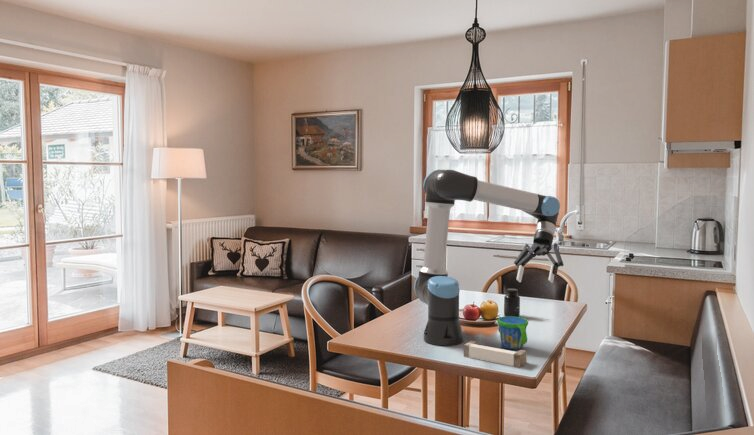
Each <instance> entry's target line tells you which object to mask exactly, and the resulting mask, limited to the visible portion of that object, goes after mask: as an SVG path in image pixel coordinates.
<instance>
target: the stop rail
mask: <svg viewBox="0 0 754 435" xmlns="http://www.w3.org/2000/svg"><path fill="white" fill-rule="evenodd" d="M463 357H466V358H471V359H475V360H479V359H480V360H481V361H484V360H485V362H488V363H489V362H490V363H495V364H500V365H505V366H510V367H515V368H519V369H520V368H521V367H523V366H524V365H525V364H526V363H527V350H525V349H518V351H516V350H510V349H502V348H498V347H492V346H486V345H480V344H477V341H476V340H475V341H474V340H470V341H468V342H466V343H464V344H463ZM480 360H479V361H480Z"/></svg>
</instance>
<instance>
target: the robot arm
mask: <svg viewBox="0 0 754 435" xmlns="http://www.w3.org/2000/svg"><path fill="white" fill-rule="evenodd" d="M423 191H424V193H425V201H424V202H425V204H426V205H427V207H428V210H427V221H426V222H427V223H426V234H425V241H424V242H425V245H424V256H423V265H422V266H421V268H419V269H418V276H417V278H416V279H415V280H414V286H413V287H414V288H413V289H414V294H415V295H416V297H417V298H418V299H419V300H420V301H421V302H422V303H423V304H426V305H427V317H428V318H427V322H426V326H425V328H424V331H423V341H424V342H426V343H428V344H430V345H431V344H432V345H437V346H456V345H459V344H461V343H463V342H464V340H465V339H464V331H463V329H462V328H463V327H462V326H461V322H460V283H459V281H458V280H457V279H456V278H454V277H452V276H450V277H449V276H448V275H449V272H448V271H447V270H446V267H445V266H446V257H447V245H448V235H449V223H450V212H451V208H453V207H454V206H455V202H456V201H465V202H473V201H477V202H481V203H482V202H483V203H486V204H492V205H496V206H501V207H505V208H509V209H510V208H511V209H514V210H518V211H522V212H524V213H526V214H528V215H530V216H532V217H533V218H535V219H536V220H537V223H536V227H535V232H534V235H533V240H532V242H533V243H532V245H531V244H528V243H525V245H524V248H523V249H522V250H521V252H520V253H519V255H518V256H517V257H516V259H515V260H514V261H513V264H514V265H515V266H516V274H517V275H516V278H515V279H516V281H517V282H518V283H521V282H522V280H523V275H524V270H525V265H527V264H528V263H529V262H530V261H531V260H532V259H533V258H536V256H537V257H539V256H542V257H543V256H544V257H545V256H547V258H549V260H550V261H551V263H552V264H551V265H550V270H549V274H548V279H547V280H548V281H549V282H550V284H553V283H554V279H555V275H557V274H558V269H559V267H563V266H564V262H563V259H562V256H561V254H560V246H559V244H557V243H556V242H554V237H555V233H556V226H557V222H558V218H559V215H560V214H559V213H560V208H561V203H560V200H559V199H558V198H556V197H554V196H551V195H547V196H546V195H543V194H539V193H534V192H531V191H525V190H522V189H517V188H513V187H508V186H504V185H500V184H495V183H491V182H487V181H483V180H479V179H478V177H477V176H473V175H469V174H466V173H462V172H459V171H458V170H454V169H436V170H434V171H431V172H430V173H428V174H427V176H425V178H424V180H423ZM551 250H553V251H554V254H555V257H556V260H557V261H556V260H555V258H554V257H553V256H552V254H551V253H550V251H551Z"/></svg>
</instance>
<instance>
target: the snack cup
mask: <svg viewBox="0 0 754 435" xmlns="http://www.w3.org/2000/svg"><path fill="white" fill-rule="evenodd" d="M496 323H497V324H498V332H499V335H500V337H499V338H500V342H501V346H502V348H505V349H506V350H511V351H517V350H518V351H519V350H522V348H524V345H525V344H527V343H528V335H527V334H528V333H527V327H528V325H529V320H528V319H526V318H524V317H521V316H519V317H515V316H500V317H498V318H497V322H496Z"/></svg>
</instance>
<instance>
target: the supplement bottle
mask: <svg viewBox="0 0 754 435" xmlns="http://www.w3.org/2000/svg"><path fill="white" fill-rule="evenodd" d="M503 297H504V299H503V317H505V316H515V317H521V316H520V314H521V313H520V312H521V311H520V310H521V307H520V306H521V297H520V296H519V290H518V289H517V288H507V289H506V294H505V295H504V296H503Z"/></svg>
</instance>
